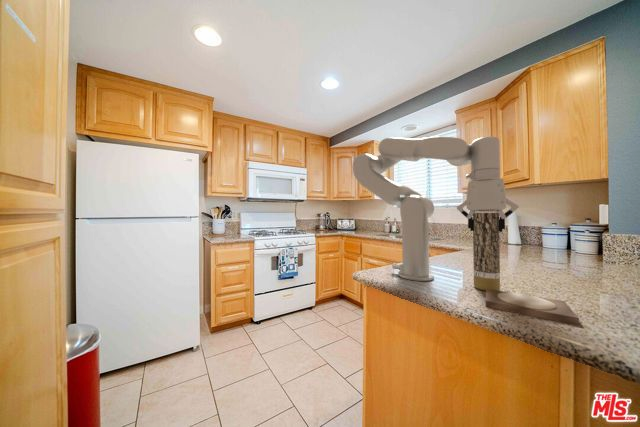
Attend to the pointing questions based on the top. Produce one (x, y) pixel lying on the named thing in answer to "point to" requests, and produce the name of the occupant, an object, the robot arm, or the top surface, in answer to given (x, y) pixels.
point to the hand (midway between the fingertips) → (485, 230)
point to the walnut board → (531, 306)
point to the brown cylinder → (486, 250)
